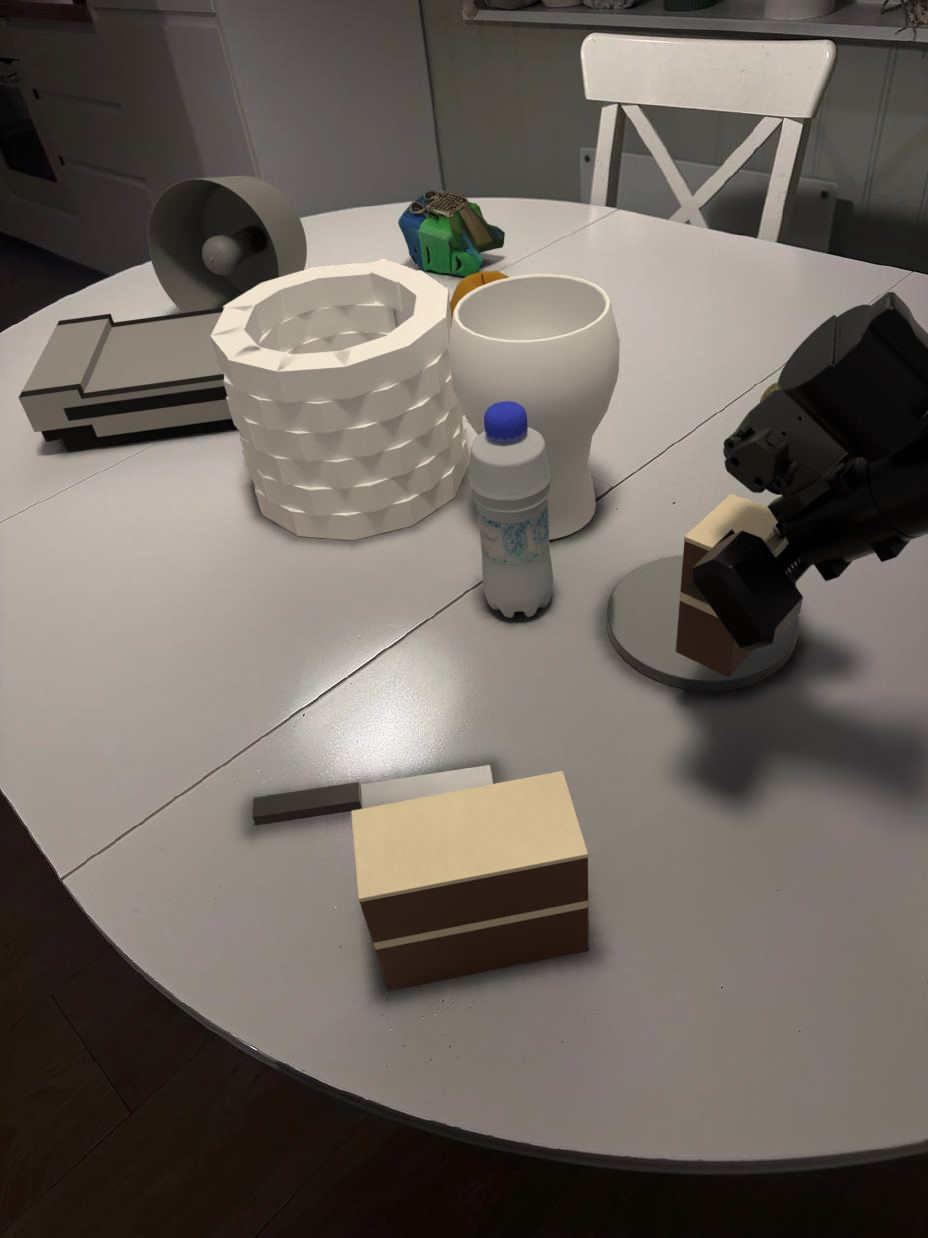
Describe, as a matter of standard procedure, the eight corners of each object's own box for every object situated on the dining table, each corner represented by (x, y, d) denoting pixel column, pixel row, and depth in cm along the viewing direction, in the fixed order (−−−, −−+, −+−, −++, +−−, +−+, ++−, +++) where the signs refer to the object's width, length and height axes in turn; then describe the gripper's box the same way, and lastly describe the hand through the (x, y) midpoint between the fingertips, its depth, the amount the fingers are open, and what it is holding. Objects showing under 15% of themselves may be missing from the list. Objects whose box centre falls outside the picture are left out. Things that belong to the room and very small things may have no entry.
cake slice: (769, 632, 70) (790, 514, 62) (728, 678, 67) (744, 560, 59) (717, 608, 72) (730, 493, 65) (675, 652, 69) (684, 536, 62)
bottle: (472, 590, 86) (449, 398, 72) (538, 569, 87) (527, 376, 74) (499, 635, 81) (480, 438, 68) (568, 612, 82) (563, 414, 69)
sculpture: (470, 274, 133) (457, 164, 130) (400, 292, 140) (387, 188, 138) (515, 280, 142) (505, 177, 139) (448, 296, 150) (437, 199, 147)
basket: (351, 571, 90) (310, 397, 77) (212, 488, 103) (158, 328, 90) (521, 455, 102) (510, 288, 89) (377, 394, 115) (350, 242, 102)
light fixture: (256, 173, 117) (345, 140, 138) (96, 187, 126) (202, 154, 146) (291, 333, 129) (369, 280, 149) (142, 335, 137) (235, 285, 158)
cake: (566, 870, 63) (562, 770, 56) (588, 950, 59) (588, 854, 51) (379, 906, 63) (350, 810, 55) (388, 991, 58) (358, 899, 51)
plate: (810, 583, 82) (813, 573, 81) (779, 711, 72) (781, 701, 71) (635, 551, 88) (635, 541, 87) (582, 665, 77) (582, 655, 77)
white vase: (631, 475, 97) (637, 273, 82) (596, 565, 87) (596, 353, 72) (494, 459, 102) (477, 266, 87) (445, 543, 91) (417, 339, 77)
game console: (309, 422, 112) (294, 359, 106) (47, 458, 111) (18, 397, 106) (313, 345, 127) (300, 287, 121) (82, 377, 127) (59, 320, 121)
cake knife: (490, 767, 70) (489, 758, 70) (494, 792, 69) (493, 784, 68) (256, 802, 70) (253, 794, 69) (255, 828, 68) (251, 820, 68)
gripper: (894, 309, 56) (718, 418, 70) (737, 449, 47) (569, 543, 60) (992, 458, 57) (800, 536, 71) (858, 623, 48) (666, 678, 62)
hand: (714, 567), depth 66 cm, fingers closed on cake slice, 6 cm apart
